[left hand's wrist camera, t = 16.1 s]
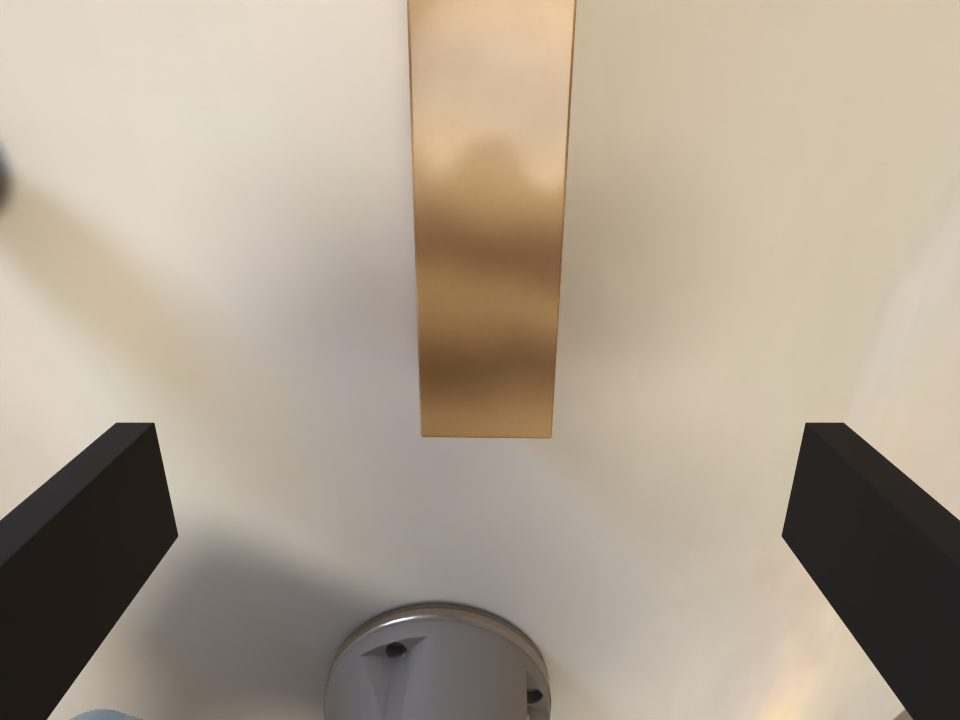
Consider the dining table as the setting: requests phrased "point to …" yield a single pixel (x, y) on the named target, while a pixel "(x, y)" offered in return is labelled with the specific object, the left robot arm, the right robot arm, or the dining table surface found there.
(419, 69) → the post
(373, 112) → the dining table surface
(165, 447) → the dining table surface
